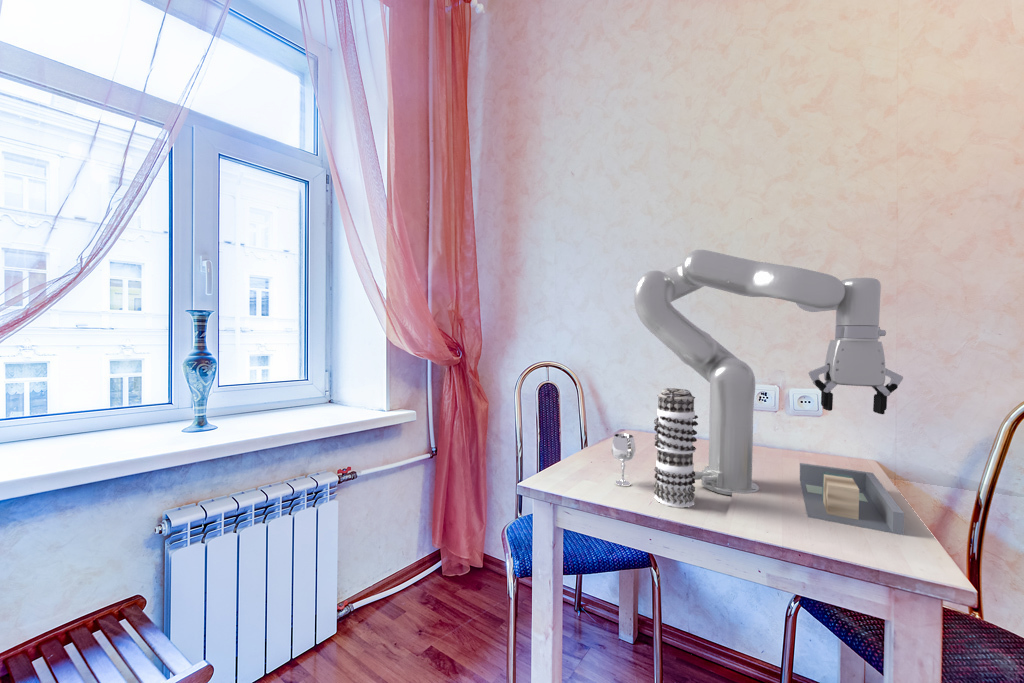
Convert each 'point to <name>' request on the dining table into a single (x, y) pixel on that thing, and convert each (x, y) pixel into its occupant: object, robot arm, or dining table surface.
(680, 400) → the decorative candle
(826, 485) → the oak block
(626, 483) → the wineglass
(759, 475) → the dining table surface
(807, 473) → the tray
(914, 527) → the dining table surface
